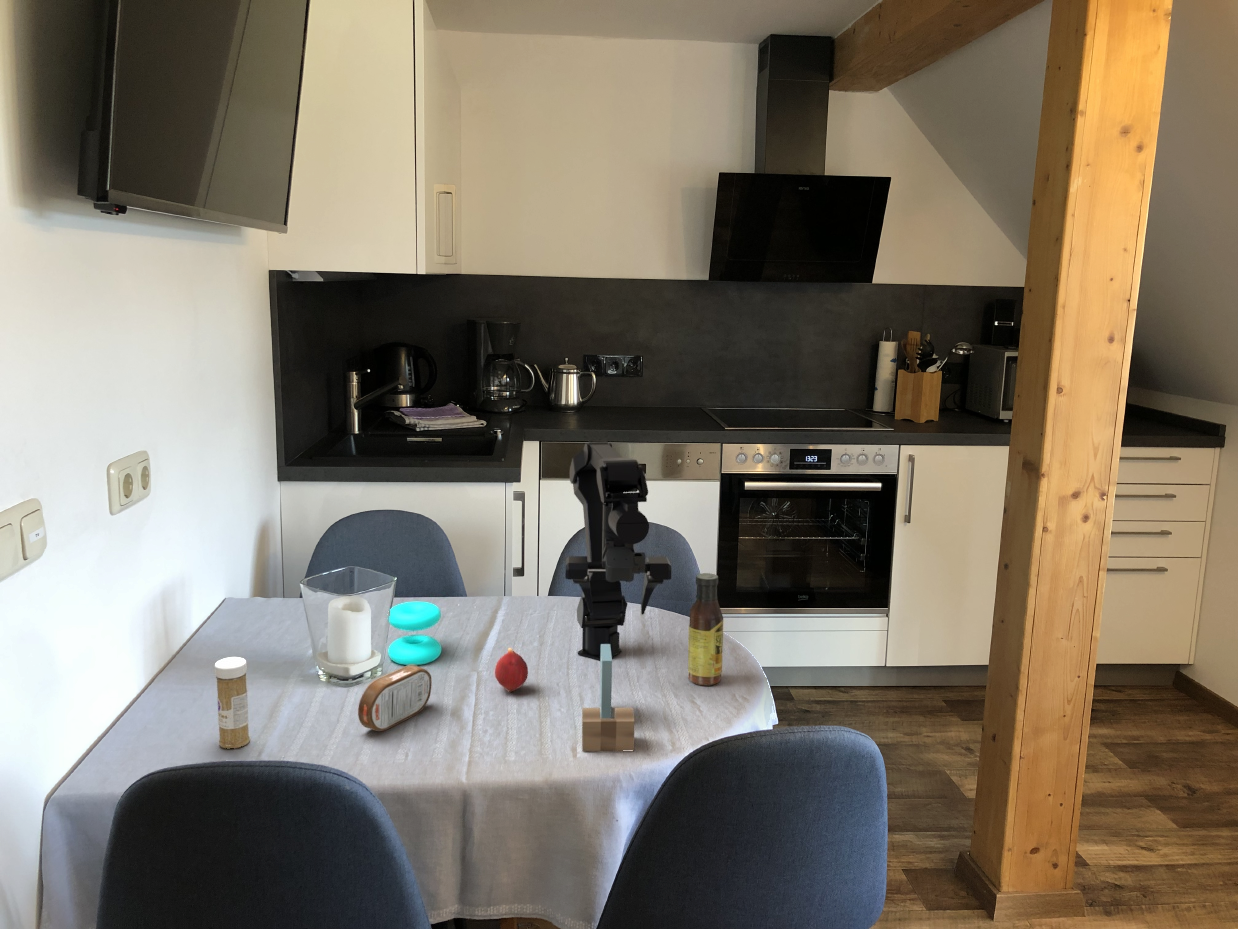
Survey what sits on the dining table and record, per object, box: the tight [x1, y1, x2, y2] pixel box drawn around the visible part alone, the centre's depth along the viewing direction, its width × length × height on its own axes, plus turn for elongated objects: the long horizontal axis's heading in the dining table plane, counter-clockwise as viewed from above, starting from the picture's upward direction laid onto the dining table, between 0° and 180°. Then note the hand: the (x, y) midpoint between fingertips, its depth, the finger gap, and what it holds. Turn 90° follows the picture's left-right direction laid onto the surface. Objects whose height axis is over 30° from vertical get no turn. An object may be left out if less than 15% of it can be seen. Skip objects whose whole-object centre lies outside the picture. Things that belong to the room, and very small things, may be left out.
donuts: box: [387, 601, 442, 666], centre depth 189 cm, size 10×10×10 cm
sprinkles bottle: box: [214, 656, 251, 750], centre depth 152 cm, size 5×5×13 cm
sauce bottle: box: [687, 572, 724, 686], centre depth 180 cm, size 7×6×20 cm
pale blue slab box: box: [599, 644, 613, 719], centre depth 165 cm, size 8×2×11 cm, turn 3°
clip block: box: [581, 707, 635, 752], centre depth 155 cm, size 5×8×5 cm, turn 93°
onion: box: [494, 647, 529, 692], centre depth 174 cm, size 6×6×8 cm
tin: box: [357, 664, 433, 732], centre depth 162 cm, size 15×3×8 cm, turn 149°
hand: (616, 613), depth 178 cm, fingers open, 9 cm apart
